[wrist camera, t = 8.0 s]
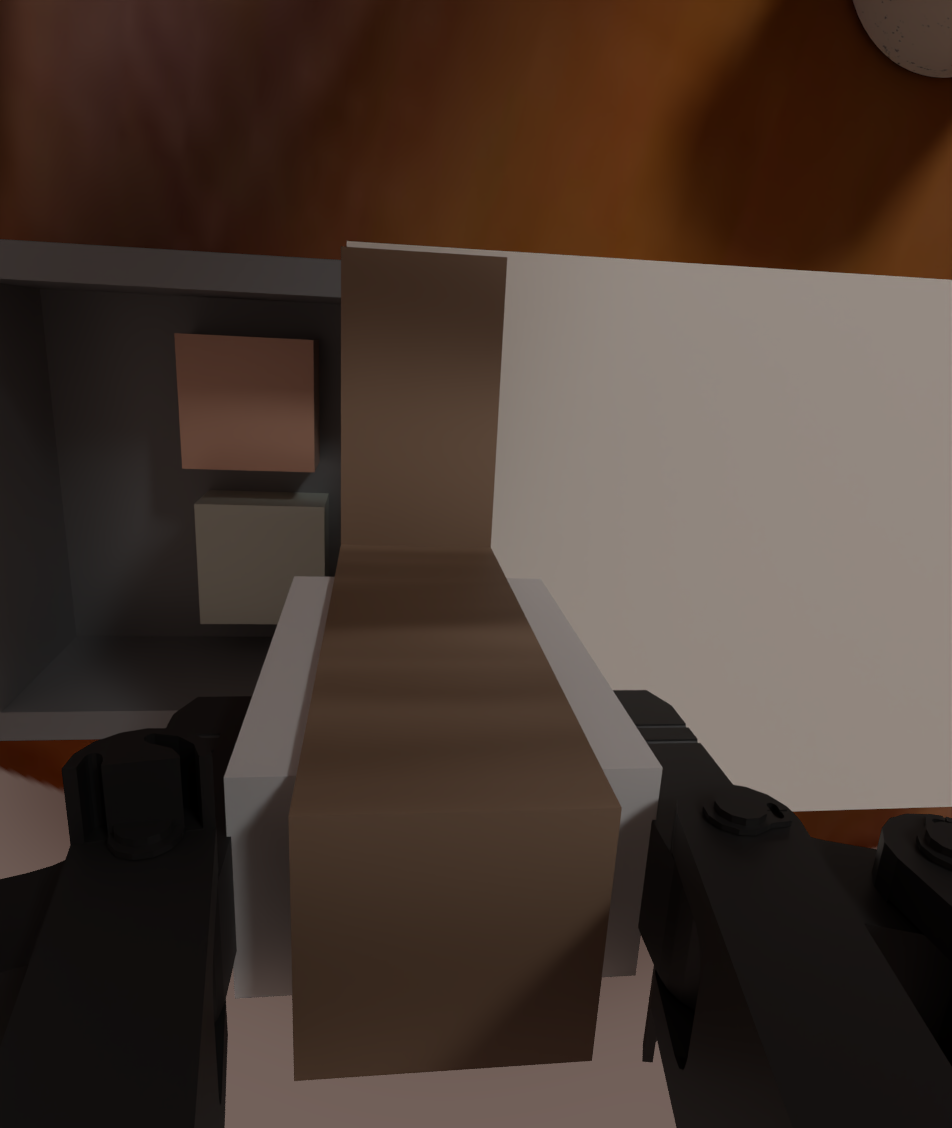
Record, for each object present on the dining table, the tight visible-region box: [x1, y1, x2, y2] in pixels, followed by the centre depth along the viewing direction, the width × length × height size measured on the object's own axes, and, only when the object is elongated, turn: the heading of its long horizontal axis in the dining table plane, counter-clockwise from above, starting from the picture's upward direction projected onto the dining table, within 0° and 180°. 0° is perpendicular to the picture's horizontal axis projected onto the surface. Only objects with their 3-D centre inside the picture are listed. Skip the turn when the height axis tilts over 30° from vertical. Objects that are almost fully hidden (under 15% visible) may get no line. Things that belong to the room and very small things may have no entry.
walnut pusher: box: [288, 246, 622, 1081], centre depth 13 cm, size 14×3×12 cm, turn 177°
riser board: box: [347, 241, 952, 811], centre depth 26 cm, size 15×20×12 cm
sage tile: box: [194, 490, 329, 624], centre depth 29 cm, size 4×4×2 cm
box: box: [0, 239, 341, 741], centre depth 27 cm, size 15×16×7 cm
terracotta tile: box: [174, 333, 320, 472], centre depth 28 cm, size 4×4×2 cm
